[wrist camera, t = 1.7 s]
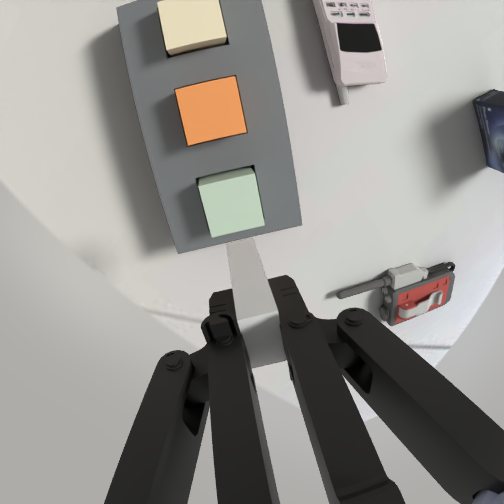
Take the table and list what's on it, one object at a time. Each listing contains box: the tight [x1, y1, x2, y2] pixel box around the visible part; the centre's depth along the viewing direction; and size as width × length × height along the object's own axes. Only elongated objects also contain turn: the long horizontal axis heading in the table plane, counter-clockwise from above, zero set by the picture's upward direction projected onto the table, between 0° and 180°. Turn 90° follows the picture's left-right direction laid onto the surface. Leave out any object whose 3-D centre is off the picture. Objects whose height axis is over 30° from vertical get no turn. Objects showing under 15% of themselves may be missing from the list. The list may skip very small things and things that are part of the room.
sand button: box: [157, 0, 227, 57], centre depth 19 cm, size 5×5×4 cm
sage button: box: [198, 166, 265, 237], centre depth 27 cm, size 5×5×4 cm
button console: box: [116, 0, 302, 254], centre depth 24 cm, size 24×12×4 cm, turn 11°
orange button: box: [175, 76, 247, 146], centre depth 23 cm, size 5×5×4 cm
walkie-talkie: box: [337, 262, 455, 326], centre depth 38 cm, size 9×4×20 cm
